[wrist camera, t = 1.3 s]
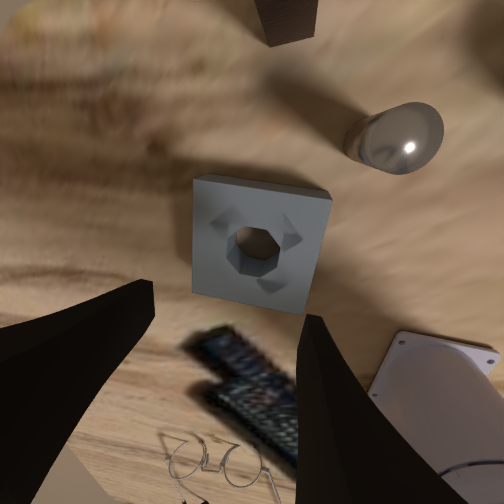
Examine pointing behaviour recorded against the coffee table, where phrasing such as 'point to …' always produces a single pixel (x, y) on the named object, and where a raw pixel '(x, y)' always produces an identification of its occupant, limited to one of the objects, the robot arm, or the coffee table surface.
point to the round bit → (396, 138)
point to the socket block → (263, 217)
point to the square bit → (287, 19)
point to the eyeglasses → (222, 465)
